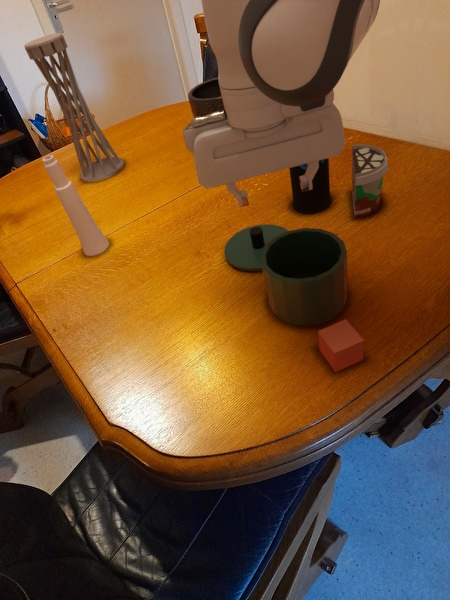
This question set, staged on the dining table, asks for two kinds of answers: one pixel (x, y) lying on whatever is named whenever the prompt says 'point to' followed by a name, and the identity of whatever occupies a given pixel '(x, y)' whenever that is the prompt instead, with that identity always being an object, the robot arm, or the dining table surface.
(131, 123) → the dining table surface
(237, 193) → the robot arm
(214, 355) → the dining table surface
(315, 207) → the aerosol can
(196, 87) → the planter
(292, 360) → the dining table surface
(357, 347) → the block
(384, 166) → the food container
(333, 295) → the tin
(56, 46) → the lattice tower
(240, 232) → the lid
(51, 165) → the cosmetic bottle
